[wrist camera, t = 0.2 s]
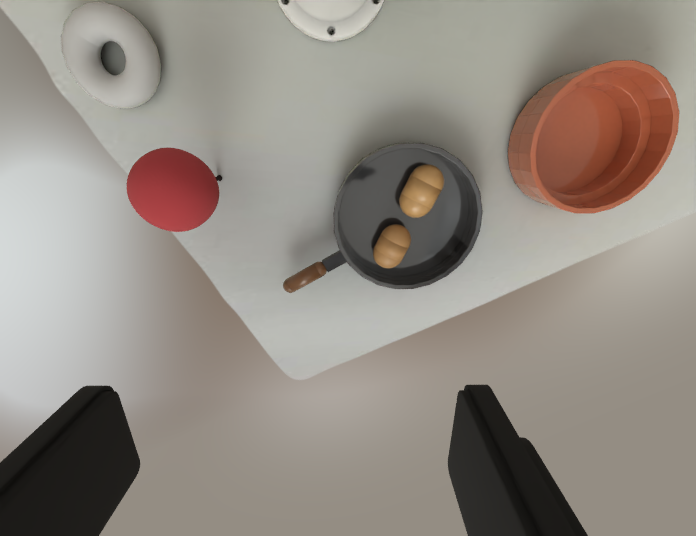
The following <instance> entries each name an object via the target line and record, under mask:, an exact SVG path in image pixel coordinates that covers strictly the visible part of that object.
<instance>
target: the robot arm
mask: <svg viewBox="0 0 696 536" xmlns="http://www.w3.org/2000/svg"><path fill="white" fill-rule="evenodd" d="M277 1H278V3H279V5H280V7H281V9H282V10H283V12H284V14H285V15H286V17H287V18H288V19H289V20H290V21H291V22H292V24H293V25H294V26H295V27H297V28H298V29H299V30H300V31H301V32H303V33H304V34H306V35H308V36H310V37H312V38H314V39H318V40H322V41H332V42H335V41H341V40H346V39H348V38H351V37H353V36H355V35H357V34H358V33H360V32H361V31H363V30H364V29H365V28H366V27H367V26H368V25H369V24H370V23H371V22H372V21H373V20H374V18H375V17H376V15H377V14H378V12H379V11H380V9H381V7H382V5H383V2H384V0H377V1H378V3H377V4H374V3H373V1H374V0H287V1H289V3H288V4H287V5H285V1H286V0H277ZM330 31H334V34H333V35H330V34H329V33H330ZM139 468H140V459H139V456H138V453H137V450H136V447H135V444H134V441H133V438H132V435H131V432H130V429H129V426H128V423H127V419H126V416H125V413H124V410H123V407H122V404H121V401H120V398H119V395H118V393H117V392H114V390H113V388H112V387H110V386H85V387H83V388H81V389H80V390H79V391H78V392H76V393H75V394H74V395H73V396H72V397H71V398H70V399H69V400H68V401H67V402H66V403H64V404H63V405H62V406H61V407H60V408H59V409H58V410H57V411H56V412H55V413H54V414H53V415H51V416H50V418H48V419H47V420H46V421H45V422H44V423H43V424H42V425H41V426H40V427H39V428H38V429H36V430H35V431H34V432H33V433H32V434H31V435H30V436H29V437H28V438H27V439H25V440H24V441H23V442H22V443H21V444H20V445H19V446H18V447H17V448H16V449H15V450H14V451H12V452H11V453H10V454H9V455H8V456H7V457H6V458H5V459H4V460H3V461H2V462H1V463H0V536H99V534H100V533H101V531H102V530H103V528H104V526H105V525H106V523H107V522H108V520H109V519H110V517H111V516H112V514H113V512H114V511H115V509H116V507H117V506H118V504H119V503H120V501H121V500H122V498H123V497H124V495H125V493H126V492H127V490H128V489H129V487H130V485H131V484H132V482H133V481H134V479H135V477H136V476H137V474H138V471H139ZM448 469H449V474H450V478H451V481H452V485H453V488H454V491H455V495H456V498H457V501H458V504H459V508H460V511H461V514H462V517H463V521H464V524H465V527H466V531H467V534H468V536H588V535H587V534H586V532H585V530H584V529H583V527H582V525H581V524H580V522H579V521H578V519H577V517H576V516H575V514H574V512H573V511H572V509H571V507H570V506H569V504H568V502H567V501H566V499H565V497H564V496H563V494H562V492H561V491H560V489H559V487H558V486H557V484H556V483H555V481H554V479H553V478H552V476H551V474H550V473H549V471H548V469H547V468H546V466H545V464H544V463H543V461H542V459H541V458H540V456H539V455H538V453H537V451H536V450H535V448H534V447H533V445H532V444H531V442H530V441H529V440H527V439H526V438H519V436H518V435H517V433H516V431H515V429H514V428H513V426H512V424H511V422H510V420H509V419H508V417H507V415H506V414H505V412H504V410H503V408H502V407H501V405H500V403H499V402H498V400H497V398H496V396H495V395H494V393H493V391H492V389H491V388H490V387H489V386H488V385H466V386H465V388H464V390H462V391H459V392H458V396H457V403H456V409H455V416H454V424H453V430H452V437H451V443H450V450H449V457H448Z"/></svg>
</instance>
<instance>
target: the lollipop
mask: <svg viewBox="0 0 696 536" xmlns="http://www.w3.org/2000/svg"><path fill="white" fill-rule="evenodd" d="M218 180H219V181H221V180H222V177H221V176H220V175H218V176H217V177H215V176H214V174H213V173H212V171H211V170H210V169H209V167H208V166H207V165H206V164H205V163H204V162H203V161H201V160H200V159H199V158H197V157H196V156H194V155H192V154H190V153H188V152H186V151H183V150H180V149H176V148H160V149H156V150H153V151H151V152H149V153H147V154H145V155H144V156H142V157H141V158H140V159H139V160H138V161H137V162H136V163H135V164H134V165H133V167H132V169H131V170H130V173H129V175H128V179H127V194H128V197H129V200H130V202H131V204H132V206H133V207H134V209H135V210H136V212H137V213H138V214H139V215H140V216H141V217H142V218H143V219H145V220H146V221H147V222H149V223H150V224H152V225H154V226H156V227H158V228H161V229H164V230H168V231H174V232H182V231H188V230H191V229H194V228H196V227H198V226H200V225H201V224H203V223H204V222H205V221H206V220H208V219H209V217H210V216H211V215H212V214H213V212H214V210H215V209H216V206H217V204H218V200H219V187H218V183H217V181H218Z"/></svg>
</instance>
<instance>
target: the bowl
mask: <svg viewBox="0 0 696 536" xmlns="http://www.w3.org/2000/svg"><path fill="white" fill-rule="evenodd" d="M678 122H679V109H678V104H677V99H676V94H675V92H674V90H673V88H672V87H671V85H670V83H669V81H668V80H667V78H666V77H665V76H664V75H662V74H661V73H660V72H659V71H657V70H656V69H655V68H654V67H652V66H650V65H647V64H644V63H641V62H638V61H634V60H618V61H611V62H607V63H604V64H600V65H597V66H594V67H590V68H587V69H584V70H580V71H577V72H574V73H570V74H567V75H564V76H561V77H559V78H557V79H556V80H554V81H552V82H550V83H549V84H547V85H545V86H544V87H543V88H542V89H540V90H539V91H538V92H537V93H536V94H535V95H534V96H533V97H532V98H531V99H530V100H529V101H528V103H527V104H526V106H525V107H524V108H523V110H522V111H521V113H520V114H519V116H518V117H517V120H516V122H515V125H514V127H513V129H512V132H511V135H510V141H509V147H508V159H509V168H510V171H511V174H512V176H513V179H514V181H515V183H516V184H517V186H518V187H519V188H520V189H521V191H522V192H523V193H524V194H525V195H527V196H529V197H530V198H532V199H533V200H535V201H537V202H540V203H543V204H546V205H549V206H552V207H555V208H559V209H562V210H565V211H569V212H573V213H597V212H601V211H604V210H608V209H611V208H614V207H616V206H618V205H620V204H622V203H624V202H626V201H628V200H629V199H631V198H632V197H634V196H635V195H636V194H637V193H639V192H640V191H641V190H643V189H644V188H645V187H646V186H647V185H648V184H649V183H650V182H651V181H652V179H653V178H654V177H655V176H656V175H657V174H658V173H659V171H660V170H661V168H662V167H663V165H664V163H665V161H666V160H667V158H668V156H669V155H670V152H671V150H672V147H673V144H674V141H675V138H676V135H677V132H678Z"/></svg>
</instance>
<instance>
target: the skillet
mask: <svg viewBox="0 0 696 536" xmlns="http://www.w3.org/2000/svg"><path fill="white" fill-rule="evenodd" d="M425 164H429V165H433V166H436V167H437V168H438V169H439V170H440V171H441V172H442V174H443V177H444V185H443V188H442V191H441V192H440V194H439V196H438V198H437V200H436V201H435V203H434V205H433V207H432V209H431V210H430V211H429V212H428V213H427V214H426V215H425V216H422V217H419V218H413V217H410V216H408V215H406V214H405V213H404V212H403V211H402V209H401V207H400V203H399V199H400V195H401V193H402V191H403V189H404V187H405V185H406V183H407V181H408V179H409V177H410V175H411V173H412V172H413V171H414V170H415V169H416V168H417V167H419V166H421V165H425ZM481 219H482V204H481V196H480V191H479V189H478V187H477V184H476V182H475V180H474V177H473V175H472V174H471V173H470V171H469V170H468V169H467V168H466V167H465V165H464V164H463V163H462V162H461V161H460V160H459V159H458V158H456V157H455V156H453V155H452V154H450V153H449V152H447V151H445V150H444V149H442V148H438V147H435V146H431V145H428V144H424V143H396V144H393V145H389V146H386V147H382V148H379V149H377V150H376V151H374V152H372V153H370V154H369V155H367V156H366V157H364V158H362V159H361V160H360V161H359V162H358V163H357V164H356V165H355V166H354V167H353V169H352V170H351V171H350V172H349V173H348V174H347V176H346V178H345V180H344V181H343V184H342V185H341V187H340V189H339V192H338V196H337V200H336V204H335V208H334V233H335V237H336V240H337V243H338V247H339V249H340V251H341V253H342V255H343V256H344V258H345V259H346V261H347V263H348V264H349V265H350V266H351V267H352V268H353V269H354V270H355V271H356V272H357V273H358V274H359V275H361V276H362V277H363V278H365V279H367V280H369V281H371V282H373V283H375V284H377V285H380V286H384V287H389V288H393V289H414V288H418V287H422V286H426V285H430V284H432V283H434V282H436V281H438V280H440V279H442V278H444V277H446V276H447V275H449V274H450V273H451V272H452V271H453V270H454V269H456V268H457V267H458V266H459V265H460V264H461V263H462V262H463V261H464V259H465V258H466V257H467V255H468V254H469V253H470V251H471V250H472V248H473V246H474V244H475V241H476V239H477V236H478V234H479V232H480V226H481ZM394 224H398V225H402V226H404V227H405V228H406V229H407V230H408V231H409V233H410V236H411V243H410V246H409V248H408V250H407V252H406V254H405V255H404V257H403V259H402V261H401V262H400V263H399V264H398V265H397V266H396V267H393V268H383V267H381V266H379V265H378V264H377V263H376V261H375V260H374V257H373V250H374V247H375V245H376V243H377V241H378V239H379V237H380V235H381V233H382V231H383V230H384V229H385V228H386V227H388V226H390V225H394Z"/></svg>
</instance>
